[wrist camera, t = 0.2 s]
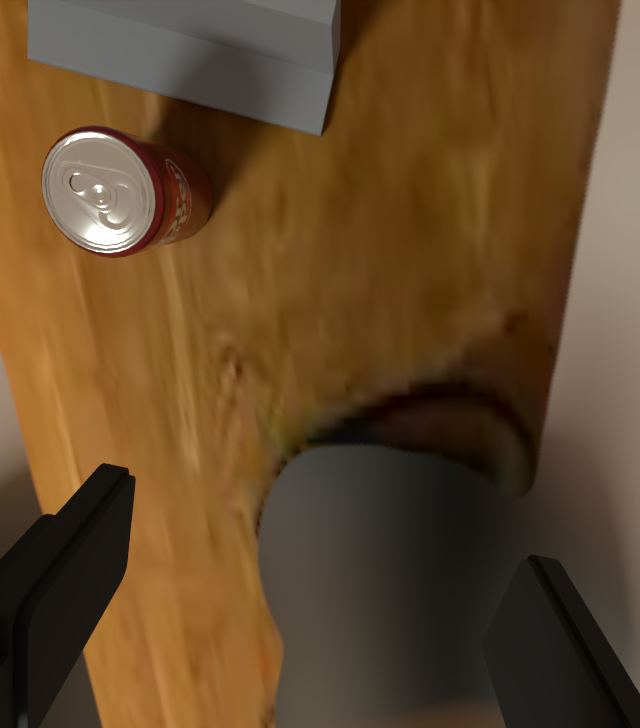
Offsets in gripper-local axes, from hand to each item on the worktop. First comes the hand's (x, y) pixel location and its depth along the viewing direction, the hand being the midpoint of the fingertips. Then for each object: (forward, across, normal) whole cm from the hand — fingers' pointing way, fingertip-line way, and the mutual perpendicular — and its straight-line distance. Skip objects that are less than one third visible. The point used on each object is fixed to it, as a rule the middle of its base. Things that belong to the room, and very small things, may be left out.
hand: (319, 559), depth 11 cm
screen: (+31, +15, -15) cm, 37 cm away
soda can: (+31, +15, -5) cm, 35 cm away
